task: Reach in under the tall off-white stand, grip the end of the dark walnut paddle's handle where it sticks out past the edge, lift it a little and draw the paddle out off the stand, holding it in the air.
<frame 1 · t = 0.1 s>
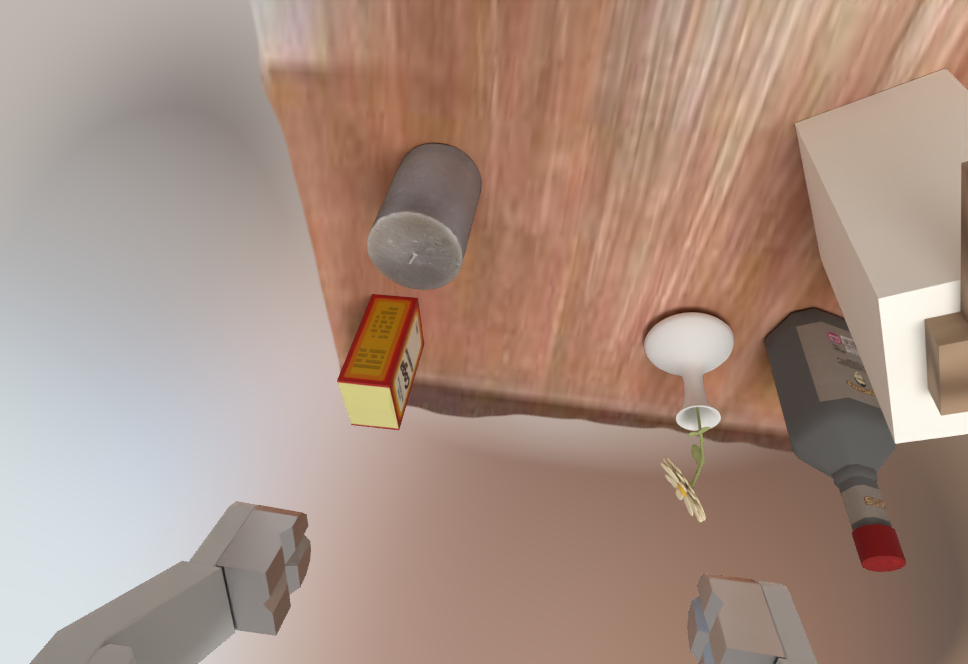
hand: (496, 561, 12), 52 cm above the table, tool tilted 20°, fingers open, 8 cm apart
liquor: (807, 333, 75), on the table
baking soda box: (399, 319, 84), on the table
stand: (874, 176, 58), on the table
pillar candle: (441, 178, 66), on the table
flower in vase: (685, 338, 79), on the table
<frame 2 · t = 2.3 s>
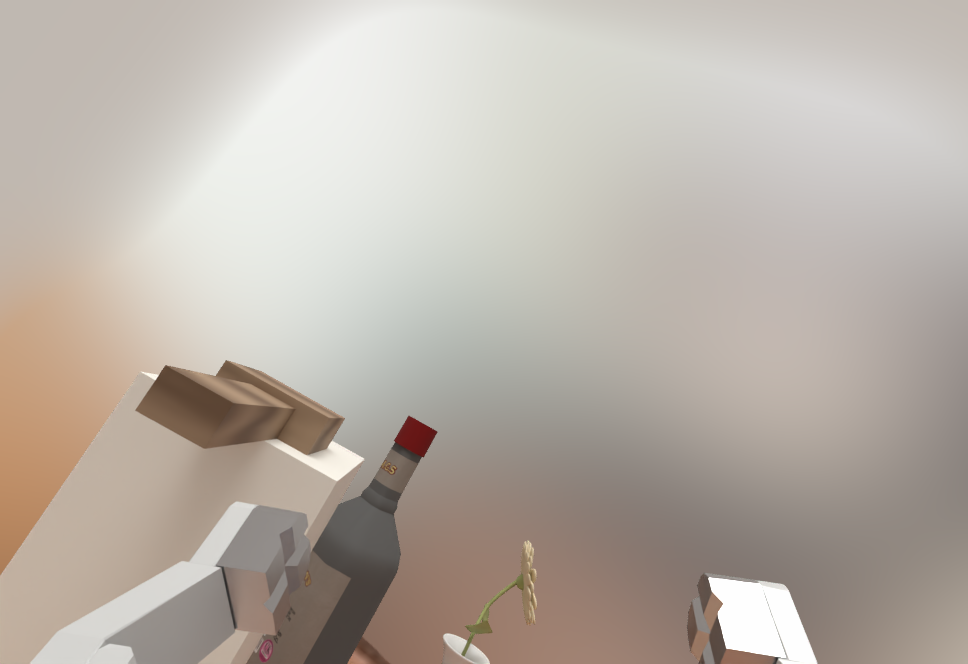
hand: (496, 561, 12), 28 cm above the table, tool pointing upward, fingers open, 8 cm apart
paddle: (244, 426, 32), point 25 cm above the table, touching stand
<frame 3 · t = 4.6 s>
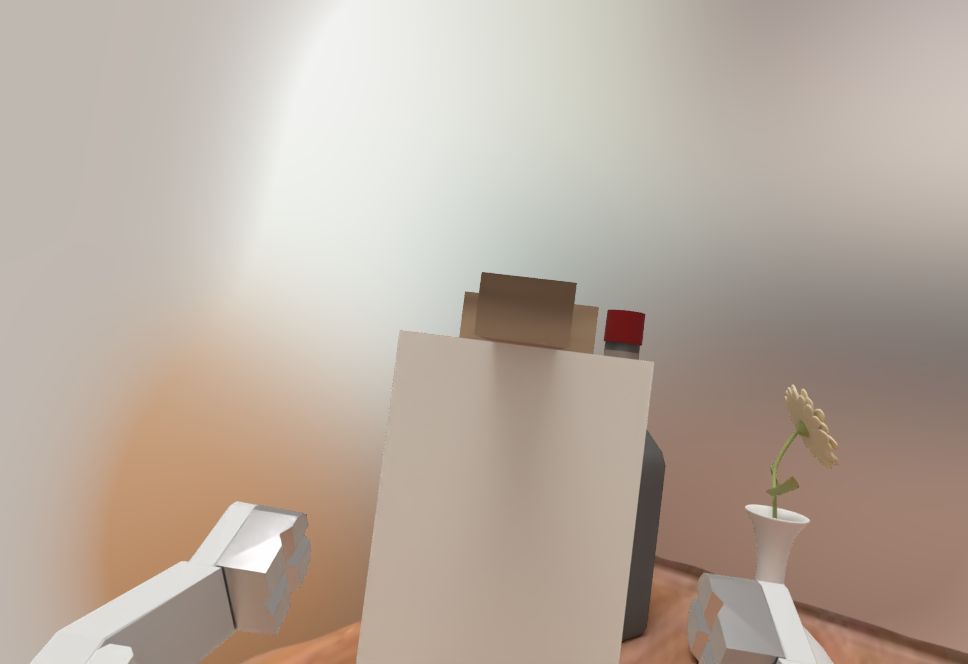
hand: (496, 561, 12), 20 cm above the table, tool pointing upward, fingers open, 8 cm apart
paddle: (524, 346, 28), point 25 cm above the table, touching stand
liquor: (589, 622, 56), on the table
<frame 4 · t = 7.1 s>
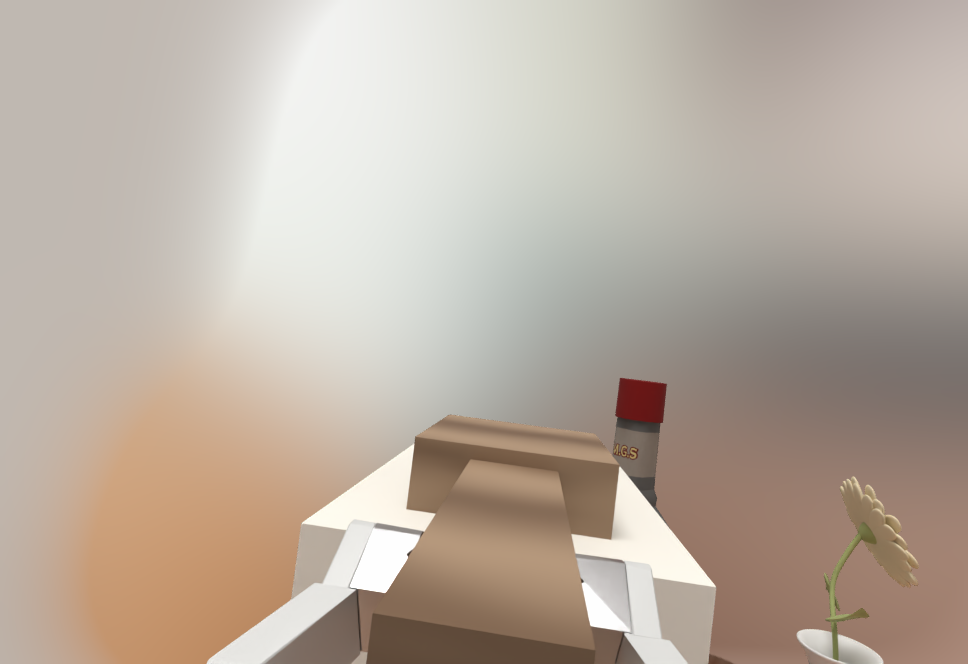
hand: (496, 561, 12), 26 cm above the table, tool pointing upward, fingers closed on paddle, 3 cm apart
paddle: (503, 543, 18), point 25 cm above the table, touching gripper, stand
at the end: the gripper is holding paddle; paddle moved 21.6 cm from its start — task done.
